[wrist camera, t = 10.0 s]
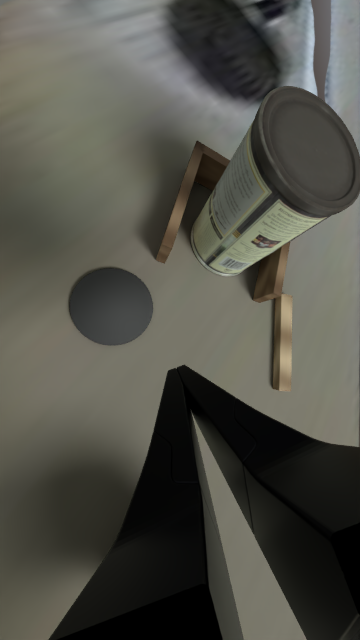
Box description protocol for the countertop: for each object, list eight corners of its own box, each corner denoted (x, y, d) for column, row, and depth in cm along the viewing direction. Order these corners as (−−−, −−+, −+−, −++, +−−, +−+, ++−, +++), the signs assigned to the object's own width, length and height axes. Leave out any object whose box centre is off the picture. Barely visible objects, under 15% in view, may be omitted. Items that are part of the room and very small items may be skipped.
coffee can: (238, 206, 29) (336, 88, 16) (260, 267, 29) (379, 202, 16) (179, 215, 26) (239, 76, 12) (204, 284, 26) (292, 219, 12)
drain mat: (139, 354, 22) (139, 354, 22) (57, 331, 20) (55, 331, 19) (161, 285, 24) (161, 284, 23) (88, 257, 22) (87, 256, 21)
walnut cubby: (259, 302, 28) (280, 296, 24) (155, 259, 24) (161, 244, 20) (275, 218, 31) (297, 201, 27) (186, 168, 27) (196, 140, 23)
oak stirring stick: (281, 388, 28) (290, 391, 26) (270, 387, 27) (279, 390, 26) (283, 298, 30) (292, 295, 28) (273, 296, 29) (281, 293, 28)
